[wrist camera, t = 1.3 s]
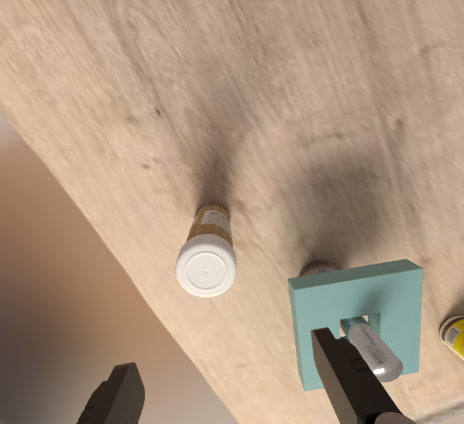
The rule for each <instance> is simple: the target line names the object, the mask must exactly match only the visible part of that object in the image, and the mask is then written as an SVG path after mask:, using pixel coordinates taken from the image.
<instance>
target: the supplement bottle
mask: <svg viewBox="0 0 464 424" xmlns="http://www.w3.org/2000/svg"><path fill="white" fill-rule="evenodd" d="M440 339H441V341H442V342H443V343H444V344H445V345H446V346H447V347H448V348H449V349H451V350H452V351H453V352H454V353H455V354H456V355H458V356H459V357H460V358H461V359H462V360H463V361H464V315H458V316H454V317H451V318H449V319H448V320H447V321H445V322H444V324H443V325H442V326H441V329H440Z"/></svg>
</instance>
